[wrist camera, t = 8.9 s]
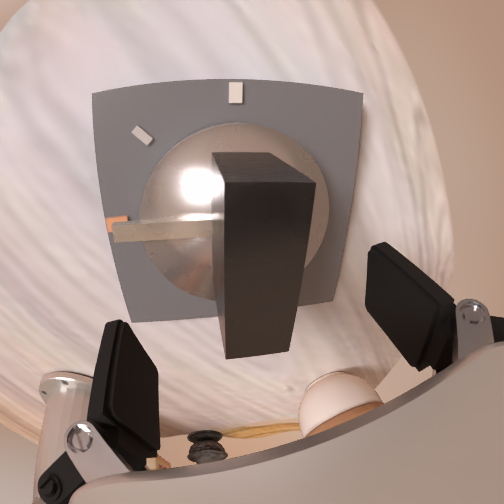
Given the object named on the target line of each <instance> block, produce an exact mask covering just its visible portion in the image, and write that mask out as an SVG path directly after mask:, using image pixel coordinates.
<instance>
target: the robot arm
mask: <svg viewBox="0 0 504 504" xmlns="http://www.w3.org/2000/svg"><path fill="white" fill-rule="evenodd" d="M365 306H366V309H367V311H368V312H369V314H370V315H371V316H372V317H373V319H374V320H375V321H376V322H377V323H378V325H379V326H380V327H381V328H382V330H383V331H384V332H385V333H386V335H387V336H388V337H389V339H390V340H391V341H392V342H393V344H394V345H395V346H396V347H397V349H398V350H399V351H400V353H401V354H402V355H403V357H404V358H405V359H406V360H407V362H408V363H409V364H410V365H411V366H412V367H416V369H417V370H418V371H419V372H420V371H421V370H423V369H425V368H426V367H428V366H429V365H430V366H431V367H432V369H433V374H432V377H431V378H429V379H428V380H426V381H424V382H423V383H421V384H419V385H418V386H416V387H414V388H413V389H411V390H409V391H407V392H406V393H404V394H402V395H400V396H398V397H396V398H395V399H393V400H391V401H389V402H387V403H385V404H383V405H381V406H379V407H377V408H375V409H373V410H371V411H369V412H367V413H365V414H363V415H360V416H358V417H356V418H354V419H351V420H349V421H347V422H345V423H342V424H340V425H337V426H335V427H332V428H330V429H327V430H325V431H322V432H320V433H317V434H314V435H311V436H309V437H306V438H303V439H300V440H297V441H294V442H291V443H288V444H285V445H281V446H278V447H275V448H271V449H268V450H264V451H260V452H256V453H252V454H249V455H244V456H240V457H235V458H231V459H226V460H220V461H215V462H210V463H204V464H197V465H190V466H183V467H176V468H167V469H157V470H151V469H150V468H149V467H148V466H147V465H146V464H147V460H146V458H156V457H157V450H159V449H160V429H159V397H158V371H157V368H156V366H155V365H154V363H153V362H152V360H151V359H150V357H149V356H148V354H147V353H146V351H145V350H144V348H143V347H142V345H141V344H140V342H139V341H138V339H137V337H136V336H135V334H134V333H133V331H132V329H131V328H130V326H129V324H128V323H127V322H123V321H122V320H115V321H111V322H107V323H106V325H105V328H104V332H103V336H102V340H101V345H100V349H99V353H98V358H97V363H96V366H95V371H94V376H93V379H92V378H90V377H86V376H83V375H79V374H75V373H69V372H53V373H49V374H47V375H45V376H44V377H43V378H42V379H41V382H40V385H39V392H40V395H41V397H42V399H43V400H44V402H45V403H46V404H47V406H46V411H45V415H44V420H43V425H42V430H41V435H40V441H39V447H38V454H37V461H36V469H35V478H34V490H33V491H34V492H33V504H504V318H502V317H495V316H490V315H489V312H488V309H487V308H486V307H485V306H484V305H483V304H482V303H481V302H479V301H477V300H474V299H464V300H461V301H460V302H459V303H458V304H457V306H456V305H455V304H454V299H453V298H452V297H451V296H450V295H449V294H448V293H447V292H446V291H445V290H443V289H442V288H441V287H440V286H439V285H438V284H437V283H435V282H434V281H433V280H432V279H431V278H430V277H428V276H427V275H426V274H425V273H424V272H423V271H421V270H420V269H419V268H418V267H417V266H415V265H414V264H413V263H412V262H411V261H409V260H408V259H407V258H406V257H404V256H403V255H402V254H401V253H399V252H398V251H397V250H396V249H394V248H393V247H392V246H390V245H389V244H388V243H386V242H382V243H379V244H376V245H373V246H372V247H371V250H370V251H369V252H368V262H367V282H366V296H365Z"/></svg>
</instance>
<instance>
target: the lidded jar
mask: <svg viewBox="0 0 504 504" xmlns="http://www.w3.org/2000/svg"><path fill="white" fill-rule="evenodd" d="M383 404H384V403H383V402H382V400H381V399H380V397H379V395H378V394H377V392H376V391H375V390H374V389H373V387H372V386H371V385H370V384H369V383H368V382H367V381H365V380H364V379H362V378H360V377H358V376H356V375H351V374H346V373H345V372H340V371H338V372H332V373H329V374H326V375H324V376H321V377H320V378H318V379H316V380H315V381H313V382H312V383H311V384H310V385H309V386H308V387H307V388H306V390H305V395H304V396H303V398H302V400H301V402H300V406H299V411H298V418H299V426H300V430H301V433H302V436H303V438H306V437H309V436H311V435H314V434H317V433H320V432H322V431H325V430H327V429H330V428H332V427H335V426H337V425H340V424H342V423H345V422H347V421H349V420H351V419H354V418H356V417H358V416H360V415H363V414H365V413H367V412H369V411H371V410H373V409H375V408H377V407H379V406H381V405H383Z"/></svg>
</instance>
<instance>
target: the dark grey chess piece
mask: <svg viewBox="0 0 504 504" xmlns="http://www.w3.org/2000/svg"><path fill="white" fill-rule="evenodd" d="M187 438H188V440H189V441H191V442H193V443H194V444H193V445H192V446H191V447H190V450H189V455H188V456H187V457H188V459H189V460H191V461H193V462H196V463H197V464H204V463H210V462H215V461H220V460H223V459H225V458H226V457H227V456H228V454H227V453H226V452H225V450H224V448H223V447H222V445H221V444H219V443H218V441H219V440H220V439H221V438H222V434H221V433H219V432H216V431H210V430H204V431H197V432H193V433H191V434H189V435H188V437H187Z"/></svg>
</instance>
